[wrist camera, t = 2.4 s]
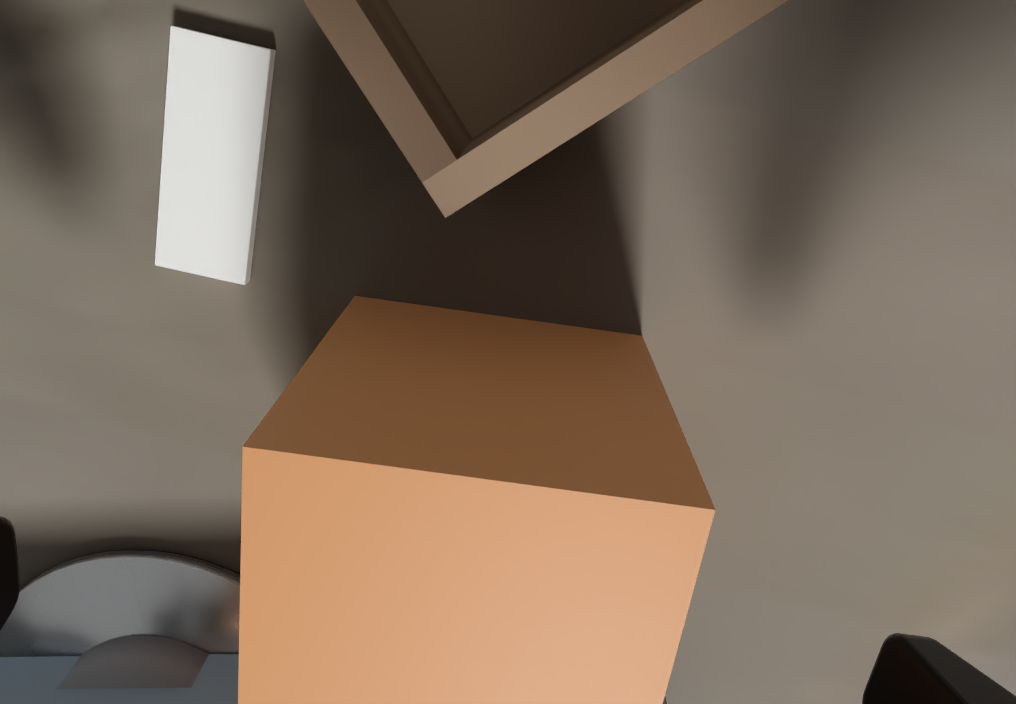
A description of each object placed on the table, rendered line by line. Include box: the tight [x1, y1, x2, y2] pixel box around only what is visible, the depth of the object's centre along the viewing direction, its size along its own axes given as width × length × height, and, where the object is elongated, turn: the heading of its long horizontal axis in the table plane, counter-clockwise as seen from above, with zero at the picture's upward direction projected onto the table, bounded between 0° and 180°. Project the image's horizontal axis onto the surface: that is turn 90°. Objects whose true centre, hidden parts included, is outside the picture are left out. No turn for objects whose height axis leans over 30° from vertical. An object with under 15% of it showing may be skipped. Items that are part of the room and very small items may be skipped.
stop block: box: [238, 296, 715, 704], centre depth 9 cm, size 4×4×4 cm
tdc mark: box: [155, 26, 276, 285], centre depth 10 cm, size 3×1×1 cm, turn 167°
